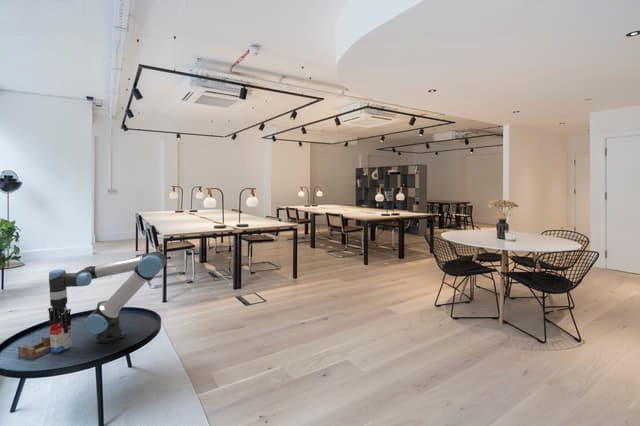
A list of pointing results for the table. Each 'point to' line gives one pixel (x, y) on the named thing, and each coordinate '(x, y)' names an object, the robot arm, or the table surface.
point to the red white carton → (59, 338)
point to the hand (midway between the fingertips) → (61, 337)
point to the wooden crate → (35, 349)
